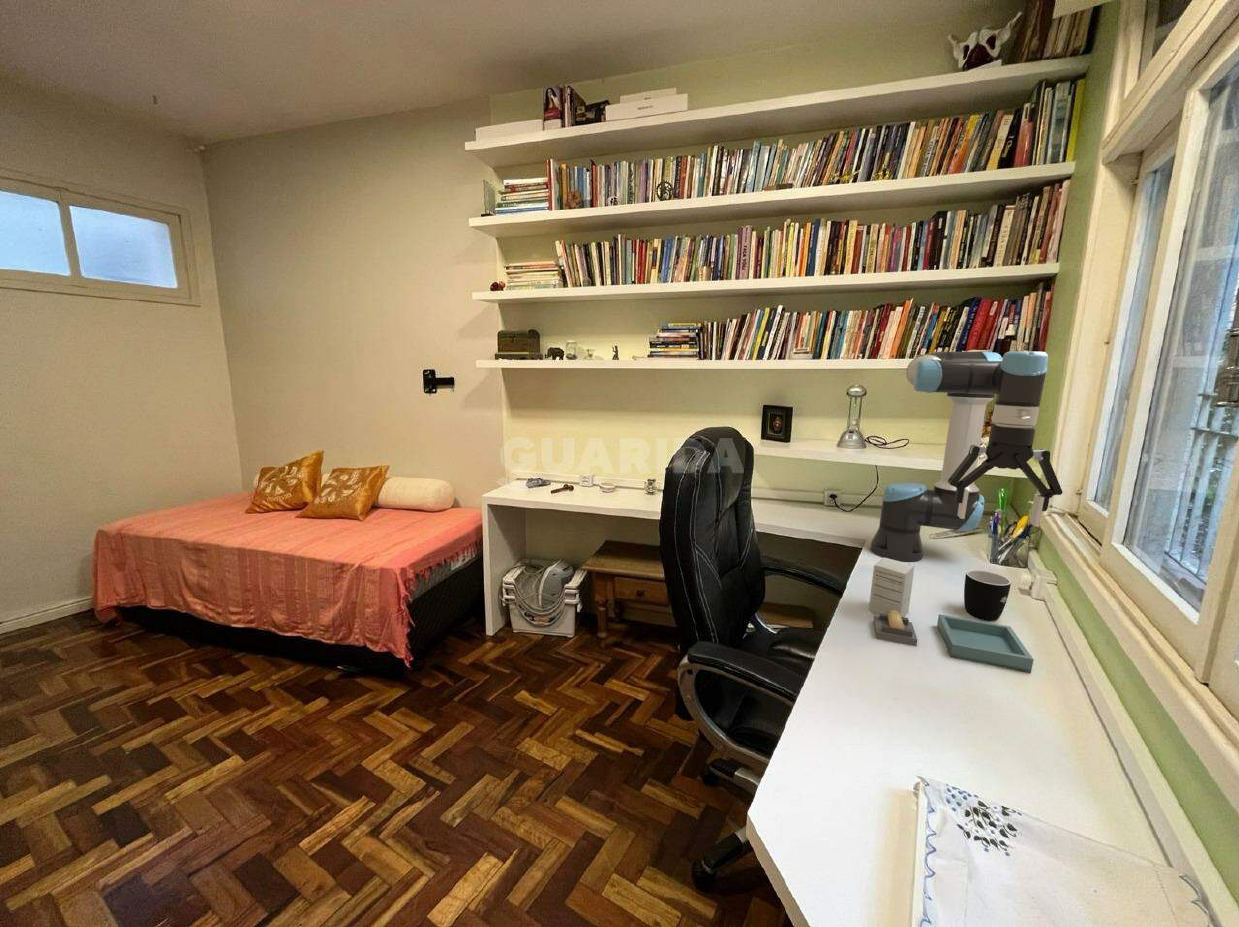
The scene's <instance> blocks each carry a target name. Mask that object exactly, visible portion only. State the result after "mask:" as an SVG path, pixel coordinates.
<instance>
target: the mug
mask: <svg viewBox="0 0 1239 927" xmlns="http://www.w3.org/2000/svg"><path fill="white" fill-rule="evenodd" d="M964 578H965V579H964V586H963V603H964V610H965V612H966V613H967V614H968V615H969V616H971V617H973V618H974V619H977V620H979V621H983V622H995V621H997V620H998V619H1000V617H1001V615H1002V614H1003V611H1004V609H1005V606H1006V603H1007V601H1008V598H1009V593H1010V589H1011V584H1012V581H1011V580H1010V579H1009V578H1007V577H1006V576H1004V575H1002V574H999V573H996V572H993V571H988V570H982V569H970V570H968V571H966V572H965V577H964Z"/></svg>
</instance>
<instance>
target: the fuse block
mask: <svg viewBox="0 0 1239 927" xmlns="http://www.w3.org/2000/svg"><path fill="white" fill-rule="evenodd" d="M872 623H873V629H874V634H875V639H877V640H883V641H887V642H893V643H900V644H903V645H909V646H915V647H917V644H918V640H919V639H918V636H917V634H916V631H915V628H914V625H913V622H911V621H910V620H909V617H905V616H904V617H901V615H900V613H899V612H898V611H896V610H890V611H889V612H888V613H887V614H882V613H879V615H873V620H872Z"/></svg>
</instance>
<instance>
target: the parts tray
mask: <svg viewBox="0 0 1239 927" xmlns="http://www.w3.org/2000/svg"><path fill="white" fill-rule="evenodd" d="M936 622H937V624H936V627H937V629H938V632H939V634H940V636H941V638H942V641H943V643H944V646H945V649H946V650H947V653H948V655H949V657H950V658H954V659H958V660H964V661H969V662H974V663H978V664H984V665H988V666H995V667H999V668H1002V669H1009V670H1014V671H1018V672H1019V671H1020V672H1025V673H1029V674H1031V673H1032V670H1033V664H1034V660H1035V659H1034V658H1033V656H1032V655H1031V654H1030V652H1029V651H1028V649H1027V648H1026V647H1025V645H1024V644H1023V642H1022V641H1021V639H1020V638H1019V637H1018V635H1017V633H1016V632H1015V631H1014V629H1013V628H1012V626H1010V625H1006V624H1005V625H1003V624H997V623H993V622H988V621H983V620H974V619H969V618H963V617H956V616H951V615H947V614H946V615H945V614H940V613H939V614H938V618H937V621H936Z"/></svg>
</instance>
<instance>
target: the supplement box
mask: <svg viewBox="0 0 1239 927" xmlns="http://www.w3.org/2000/svg"><path fill="white" fill-rule="evenodd" d="M914 574H915V564H911V563H907V562H905V561H898V560H893V559H888V558H885V557H882V558H881V559H880V560H879V561H877V562H876V563H875V564H874V565H873V573H872V578H871V579H872V582H871V589H870V597H869V607H868V612H870V613H872V614H875V615H876V616H879V613H882V614H887V613H888V612H889V611H890V610H896V611H898V612H899V613H900V615H901V617H905V616H906V615H907V614H908V613H909V610H910V603H911V595H912V588H913V582H914V581H913V580H914Z"/></svg>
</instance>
